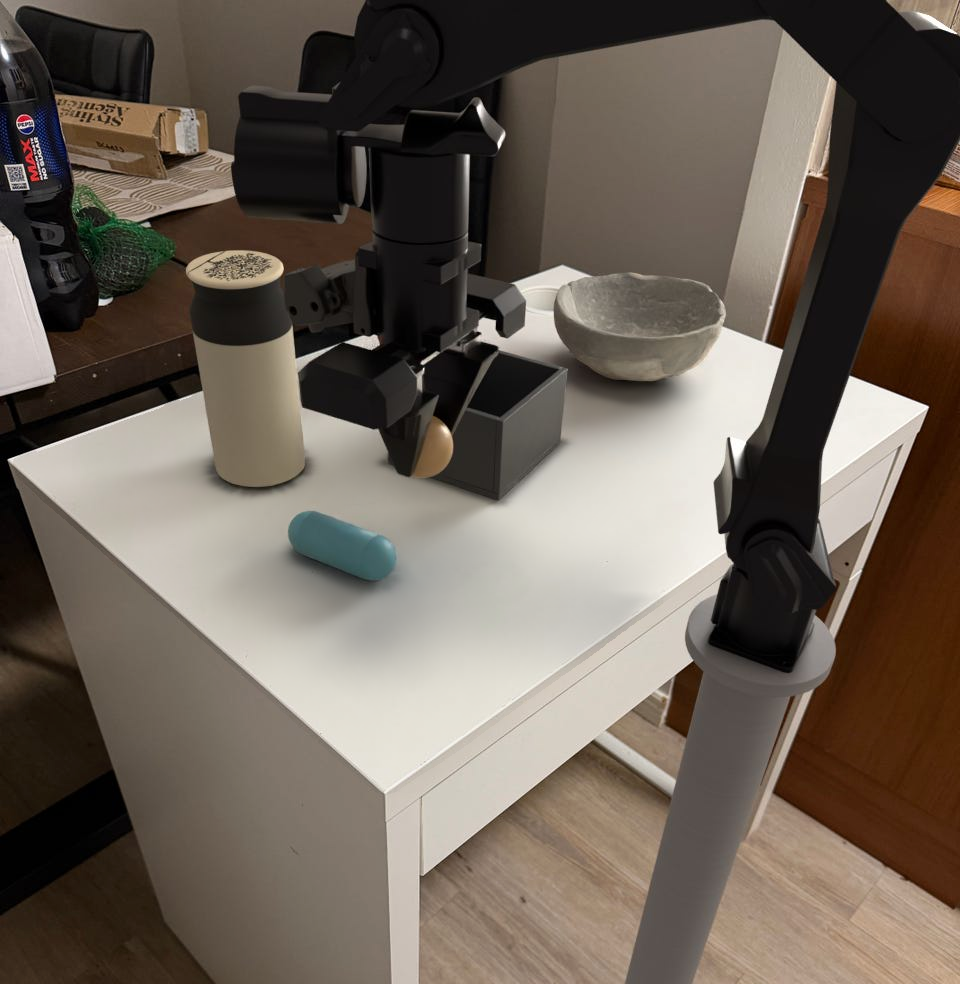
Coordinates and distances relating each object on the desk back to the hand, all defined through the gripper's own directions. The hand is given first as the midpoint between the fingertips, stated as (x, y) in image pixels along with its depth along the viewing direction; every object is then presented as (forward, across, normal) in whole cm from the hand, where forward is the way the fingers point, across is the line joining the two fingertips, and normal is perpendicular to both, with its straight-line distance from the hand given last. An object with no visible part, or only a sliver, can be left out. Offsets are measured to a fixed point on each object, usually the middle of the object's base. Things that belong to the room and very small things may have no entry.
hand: (422, 460), depth 67 cm
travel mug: (+11, -7, -22) cm, 25 cm away
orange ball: (+1, 0, 0) cm, 1 cm away
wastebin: (+11, -20, -6) cm, 24 cm away
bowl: (+11, -45, -1) cm, 46 cm away
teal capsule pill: (+11, +1, -7) cm, 13 cm away
